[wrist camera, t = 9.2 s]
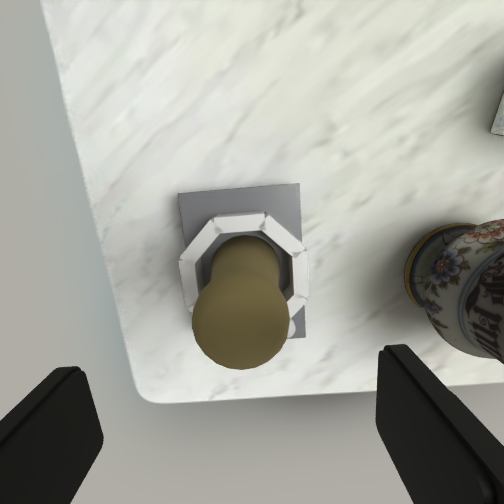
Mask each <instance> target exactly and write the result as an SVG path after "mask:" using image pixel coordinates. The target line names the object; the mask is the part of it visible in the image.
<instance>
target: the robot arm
mask: <svg viewBox="0 0 504 504" xmlns="http://www.w3.org/2000/svg"><path fill="white" fill-rule="evenodd" d="M376 426H377V429H378V432H379V434H380V436H381V438H382V441H383V442H384V444H385V447H386V449H387V451H388V453H389V455H390V457H391V459H392V461H393V463H394V465H395V467H396V469H397V471H398V473H399V475H400V477H401V479H402V481H403V483H404V485H405V487H406V489H407V491H408V493H409V495H410V497H411V499H412V501H413V503H414V504H504V446H503V445H502V444H501V443H500V442H499V441H498V440H497V439H496V438H495V437H494V436H493V434H491V432H490V431H489V430H488V429H487V428H486V427H485V426H484V425H483V424H482V423H481V422H480V421H479V420H478V419H477V418H476V417H475V415H474V414H473V413H472V412H471V411H470V410H469V409H468V408H467V407H466V406H465V405H464V404H463V403H462V402H461V400H459V398H458V397H457V396H456V395H454V394H453V393H452V392H451V391H449V390H448V389H447V388H446V386H445V385H444V384H443V383H442V382H441V381H440V380H439V379H438V378H437V377H436V376H435V375H434V374H433V372H432V371H431V370H430V369H429V368H428V367H427V366H426V365H425V364H424V363H423V362H422V361H421V360H420V359H419V357H418V356H417V355H416V354H415V353H414V352H413V351H412V350H411V349H410V348H409V347H408V346H407V345H405V344H398V345H386V346H385V347H384V350H383V351H379V355H378V376H377V398H376ZM103 439H104V437H103V433H102V429H101V426H100V422H99V419H98V415H97V412H96V408H95V405H94V401H93V398H92V395H91V391H90V388H89V384H88V380H87V377H86V374H85V372H84V371H81V369H80V368H79V367H77V366H74V367H73V366H72V367H59V368H56V369H55V370H53V371H52V372H51V373H50V374H49V375H48V376H47V377H46V378H45V379H44V380H43V381H42V382H41V383H40V384H39V385H38V386H36V387H35V388H34V389H33V390H32V391H31V392H30V393H29V394H28V395H27V396H26V397H25V398H24V399H23V400H22V401H21V402H20V403H19V404H18V405H16V406H15V407H14V408H13V409H12V410H11V411H10V412H9V413H8V414H7V415H6V416H5V417H4V418H3V419H2V420H1V421H0V504H70V503H71V501H72V499H73V498H74V496H75V494H76V492H77V491H78V489H79V487H80V485H81V484H82V482H83V480H84V478H85V477H86V475H87V473H88V471H89V470H90V468H91V466H92V464H93V463H94V461H95V459H96V457H97V456H98V454H99V452H100V450H101V448H102V445H103Z"/></svg>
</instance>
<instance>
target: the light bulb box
mask: <svg viewBox="0 0 504 504" xmlns="http://www.w3.org/2000/svg"><path fill="white" fill-rule="evenodd" d="M491 133H494V134H499V135H504V93H503V96H502V99H501V102H500V105H499V108H498V111H497V114H496V117H495V120H494V123H493V126H492V129H491Z"/></svg>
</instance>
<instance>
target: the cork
mask: <svg viewBox="0 0 504 504" xmlns="http://www.w3.org/2000/svg"><path fill="white" fill-rule="evenodd" d="M279 276H280V263H279V257H278V255H277V254H276V252H275V250H274V248H273V247H272V246H271V245H270V244H269V243H267V242H266V241H265V240H263V239H261V238H259V237H257V236H252V235H240V236H235V237H232V238H230V239H228V240H227V241H225V242H223V244H222V245H221V246H220V247H219V248H218V249H217V250H216V252H215V255H214V257H213V259H212V269H211V281H210V282H209V284H208V285H207V286H206V287H205V288H204V289H203V290H202V291H201V293H200V294H199V296H198V299H197V301H196V303H195V305H194V308H193V316H192V329H193V332H194V336H195V340H196V342H197V344H198V345H199V346H200V348H201V349H202V351H203V352H204V354H205V355H207V356H208V357H209V358H210V359H212V360H213V361H214V362H215V363H217V364H219V365H222V366H224V367H227V368H230V369H239V370H244V369H250V368H256V367H258V366H260V365H262V364H264V363H266V362H268V361H269V360H270V359H272V358H273V357H274V356H275V355H276V354H277V353H278V352H279V351H280V350H281V348H282V346H283V344H284V343H285V341H286V339H287V336H288V330H289V325H290V315H289V309H288V304H287V301H286V299H285V298H284V296H283V294H282V292H281V291H280V289H279V288H278V286H279Z"/></svg>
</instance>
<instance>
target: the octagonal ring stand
mask: <svg viewBox="0 0 504 504" xmlns="http://www.w3.org/2000/svg"><path fill="white" fill-rule="evenodd" d="M178 199H179V206H180V213H181V220H182V227H183V234H184V241H185V248H186V250H185V251H184V252H183V254H182V255H181V256H180V257H179V258H181V259H180V260H179V261H178V262H179V269H180V275H181V282H182V288H183V295H184V302H185V306H189V307H188V309H187V310H188V311H190V312H191V313H192V314H193V308H194V305H195V303H196V301H197V299H198V296H199V294H200V293H201V291H202V290H203V289H204V288H205V287H206V286H207V285H208V284H209V282H210V281H211V269H212V259H213V257H214V255H215V252H216V250H217V249H218V248H219V247H220V246H221V245H222V244H223V242H225V241H227V240H228V239H230V238H232V237H235V236H240V235H252V236H257V237H259V238H261V239H263V240H265V241H266V242H267V243H269V244H270V245H271V246H272V247H273V248H274V250H275V252H276V254H277V255H278V257H279V263H280V276H279V286H278V288H279V289H280V291H281V292H282V294H283V296H284V298H285V299H286V301H287V304H288V309H289V315H290V325H289V330H288V336H287V339H292V338H306V334H305V309H304V304H305V303H306V302H307V301H308V300H307V298H306V297H309V272H308V251H307V250H306V247H305V246H304V245H303V244H302V234H301V209H300V184H299V183H295V184H283V185H272V186H260V187H248V188H236V189H224V190H213V191H201V192H189V193H178Z"/></svg>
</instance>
